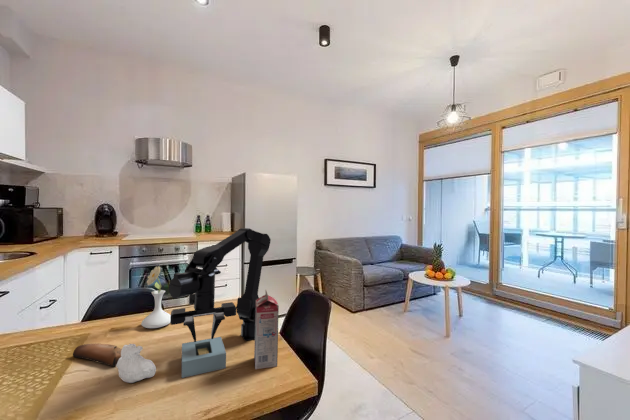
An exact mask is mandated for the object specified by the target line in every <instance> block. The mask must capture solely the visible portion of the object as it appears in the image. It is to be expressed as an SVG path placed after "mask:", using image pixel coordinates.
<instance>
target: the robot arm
mask: <svg viewBox="0 0 630 420" xmlns="http://www.w3.org/2000/svg"><path fill="white" fill-rule="evenodd" d="M243 243H247V249H248V251H249V255H250V257H249V263H248V264H249V265H248V268H247V275H246V281H245V282H246V283H245V287H244V292H243V295H241V297H238V298H237V299H236V305H235V303H234V302H224V303H223V302H222V303H221V306H218V307H217V306H216V307H215V296H216V295H215V294H216V293H215V290H216V287H215V286H216V285H215V284H216V275H219V274H220V275H221V273H222V272H221V271H220V270H219V269H218V268H217V267H218V266H219V265H220V264H221V263H222V262H223V260H224V257H226V255H228V254H229V253H231V252H232V251H233V250H235V249H237V248H238V247H239V246H241V245H242V244H243ZM270 244H271V237H270V235H269V234H267V233H262V232H258V231H256V230H253V229H251V228H247V227H240V228H239V229H237V231H235V232H234V233H232V234H231V235H229V236H228V237H225V238H224V239H222V240H221V241H219V242H218V243H216V244H213V245H210V246H205V247H203V248H200V249H198V250H196V251H195V252H194V253H193V256H192V259H190V262H189V263H188V265H187V266H186V268H185V270H184V272H182V273H181V272H178V273H174V274H173V278H172V279H171V280H170V282H169V284H168V292H169V295H170V297H172V298H173V299H175V300H176V299H179V298H183V297H186V296H188V297H189V298H188V299H189V300H188V304H189V305H193V309H194V310H188V311H186V307H181V308H174V309H172V310H171V312H170V315H171V320H170V323H169V324H170V325H172V326H173V325H174V326H175V325H180V324H183V326H184V327H185V326H187V328H188V330H189V332H190V333H191V336H192V339H193V342H196V341H197V334H196V328H195V327H196V326H195V319H194V318H196V317H198V318H199V317H204V316H213V317H212V326H211V333H210V336H211V337H210V339H213V338H215V335H216V332H217V330H218V328H219V326H220V325H221V323H222V321H225V320H226V318H229V317H235V316H237V315H238V319H239V321H241V320H242V323H241V325H240V326H241V327H240V328H241V329H240V337H242V339H243V340H244V341H245V342H246V341H251V340H255V308H256V300H257V299H258V298H260V297H259V288H260V280H261V273H262V268H263V262H264V257H265V255H266V254H267V253H268V252H269V250H270V249H269V248H270Z"/></svg>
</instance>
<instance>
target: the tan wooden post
mask: <svg viewBox="0 0 630 420" xmlns="http://www.w3.org/2000/svg"><path fill="white" fill-rule="evenodd" d="M208 353H209V351H208V348H202V349H197V356H198V355H203V354H208Z"/></svg>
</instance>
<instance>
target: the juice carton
mask: <svg viewBox="0 0 630 420" xmlns="http://www.w3.org/2000/svg"><path fill="white" fill-rule="evenodd" d="M278 346H279V304H278V301H277V299H276V298H275V297H273V296H271V295H269V294H268V292H267V290H265V294H264V295H262V296H261V297H259V298H258V299H257V300H256V308H255V339H254V351H253V352H254V354H253V357H254V369H255V370H261V369H265V368H275V367H276V368H277V367H278V355H279V354H278V349H279V347H278Z"/></svg>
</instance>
